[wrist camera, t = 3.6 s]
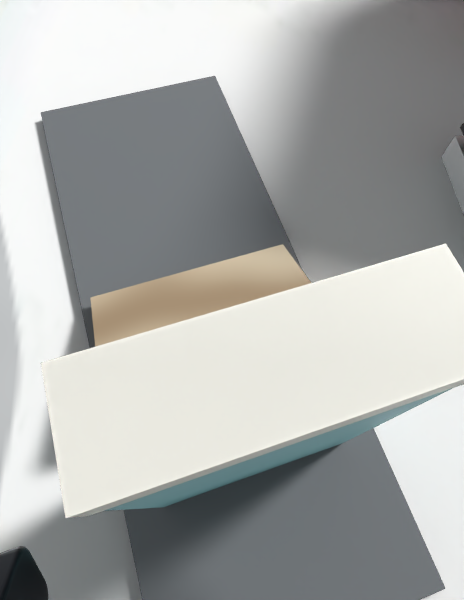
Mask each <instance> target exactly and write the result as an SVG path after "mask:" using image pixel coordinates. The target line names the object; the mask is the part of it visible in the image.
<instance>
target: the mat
mask: <svg viewBox="0 0 464 600" xmlns="http://www.w3.org/2000/svg"><path fill="white" fill-rule="evenodd" d="M41 116H42V121H43V126H44V131H45V135H46V140H47V145H48V150H49V154H50V159H51V164H52V169H53V174H54V178H55V183H56V188H57V193H58V197H59V202H60V207H61V212H62V217H63V221H64V226H65V231H66V236H67V241H68V245H69V250H70V255H71V260H72V264H73V269H74V274H75V279H76V284H77V288H78V293H79V298H80V303H81V307H82V312H83V317H84V322H85V327H86V331H87V336H88V341H89V346H90V348H93V347H95V339H94V329H93V318H92V308H91V298H90V297H94V296H98V295H101V294H105V293H108V292H112V291H116V290H119V289H123V288H126V287H130V286H134V285H137V284H141V283H145V282H148V281H152V280H155V279H159V278H163V277H166V276H170V275H173V274H177V273H181V272H184V271H188V270H191V269H195V268H199V267H202V266H206V265H209V264H213V263H217V262H220V261H224V260H227V259H231V258H235V257H238V256H242V255H246V254H249V253H253V252H256V251H260V250H264V249H267V248H271V247H274V246H278V245H282V244H283V245H284V246H285V248H286V249H287V250H288V252H289V253H290V255H291V256H292V257H293V259H294V260H295V261H296V263H297V264H298V265H299V267H300V268H301V266H300V264H299V262H298V260H297V257H296V255H295V253H294V251H293V248H292V246H291V244H290V242H289V240H288V237H287V235H286V233H285V231H284V228H283V226H282V224H281V222H280V220H279V217H278V215H277V213H276V211H275V208H274V206H273V204H272V202H271V199H270V197H269V195H268V193H267V191H266V188H265V186H264V184H263V182H262V179H261V177H260V175H259V173H258V171H257V168H256V166H255V164H254V162H253V159H252V157H251V155H250V153H249V151H248V148H247V146H246V144H245V142H244V139H243V137H242V135H241V133H240V131H239V128H238V126H237V124H236V122H235V119H234V117H233V115H232V113H231V111H230V108H229V106H228V104H227V102H226V99H225V97H224V95H223V93H222V91H221V88H220V86H219V84H218V82H217V79H216V77H215V76H212V77H207V78H202V79H198V80H193V81H188V82H183V83H179V84H174V85H169V86H164V87H159V88H155V89H150V90H145V91H140V92H136V93H131V94H126V95H121V96H117V97H112V98H107V99H102V100H98V101H93V102H88V103H83V104H79V105H74V106H69V107H64V108H60V109H55V110H50V111H45V112H41ZM301 269H302V268H301ZM124 513H125V518H126V523H127V527H128V532H129V537H130V542H131V547H132V551H133V556H134V561H135V566H136V570H137V575H138V580H139V585H140V590H141V594H142V599H143V600H420V599H422V598H425V597H427V596H429V595H432V594H434V593H436V592H439V591H441V590H443V589H445V586H444V584H443V582H442V580H441V577H440V575H439V573H438V571H437V569H436V566H435V564H434V562H433V560H432V557H431V555H430V553H429V551H428V549H427V546H426V544H425V542H424V540H423V537H422V535H421V533H420V531H419V529H418V526H417V524H416V522H415V520H414V517H413V515H412V513H411V511H410V509H409V506H408V504H407V502H406V500H405V497H404V495H403V493H402V491H401V489H400V486H399V484H398V482H397V480H396V477H395V475H394V473H393V471H392V469H391V466H390V464H389V462H388V460H387V457H386V455H385V453H384V451H383V449H382V446H381V444H380V442H379V440H378V437H377V435H376V433H375V431H374V429H373V428H372V429H370V430H368V431H366V432H364V433H362V434H360V435H358V436H356V437H354V438H352V439H350V440H348V441H346V442H344V443H342V444H339V445H336V446H333V447H331V448H328V449H325V450H322V451H319V452H317V453H314V454H311V455H308V456H305V457H303V458H300V459H297V460H294V461H292V462H289V463H286V464H283V465H280V466H278V467H275V468H272V469H269V470H266V471H264V472H261V473H258V474H255V475H252V476H250V477H247V478H244V479H241V480H238V481H236V482H233V483H230V484H227V485H224V486H222V487H219V488H216V489H213V490H211V491H208V492H205V493H202V494H199V495H197V496H194V497H191V498H188V499H185V500H183V501H180V502H177V503H174V504H171V505H169V506H166V507H161V508H143V509H126V510H124Z"/></svg>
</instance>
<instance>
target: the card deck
mask: <svg viewBox="0 0 464 600" xmlns="http://www.w3.org/2000/svg"><path fill="white" fill-rule="evenodd" d="M41 367H42V373H43V380H44V386H45V392H46V399H47V405H48V411H49V417H50V424H51V430H52V436H53V443H54V449H55V455H56V461H57V468H58V474H59V480H60V487H61V493H62V499H63V505H64V512H65V518H76V517H86V516H90V515H93V514H96V513H99V512H102V511H109V510H126V509H143V508H161V507H166V506H169V505H171V504H174V503H177V502H180V501H183V500H185V499H188V498H191V497H194V496H197V495H199V494H202V493H205V492H208V491H211V490H213V489H216V488H219V487H222V486H224V485H227V484H230V483H233V482H236V481H238V480H241V479H244V478H247V477H250V476H252V475H255V474H258V473H261V472H264V471H266V470H269V469H272V468H275V467H278V466H280V465H283V464H286V463H289V462H292V461H294V460H297V459H300V458H303V457H305V456H308V455H311V454H314V453H317V452H319V451H322V450H325V449H328V448H331V447H333V446H336V445H339V444H342V443H344V442H346V441H348V440H350V439H352V438H354V437H356V436H358V435H360V434H362V433H364V432H366V431H368V430H370V429H372V428H374V427H376V426H378V425H380V424H382V423H384V422H386V421H388V420H390V419H392V418H394V417H396V416H398V415H400V414H402V413H404V412H406V411H408V410H410V409H412V408H414V407H416V406H418V405H420V404H422V403H424V402H426V401H428V400H430V399H432V398H434V397H436V396H438V395H440V394H442V393H444V392H446V391H448V390H450V389H452V388H454V387H457V386H460V385H462V384H464V272H463V270H462V269H461V267H460V265H459V264H458V262H457V261H456V259H455V257H454V256H453V254H452V252H451V251H450V249H449V248H448V246H447V244H442V245H439V246H435V247H432V248H429V249H425V250H422V251H418V252H415V253H412V254H408V255H405V256H402V257H398V258H395V259H391V260H388V261H385V262H381V263H378V264H374V265H371V266H368V267H364V268H361V269H357V270H354V271H351V272H347V273H344V274H340V275H337V276H334V277H330V278H327V279H323V280H320V281H317V282H313V283H310V284H306V285H303V286H300V287H296V288H293V289H289V290H286V291H283V292H279V293H276V294H273V295H269V296H266V297H262V298H259V299H256V300H252V301H249V302H245V303H242V304H239V305H235V306H232V307H228V308H225V309H222V310H218V311H215V312H211V313H208V314H205V315H201V316H198V317H194V318H191V319H188V320H184V321H181V322H177V323H174V324H171V325H167V326H164V327H160V328H157V329H154V330H150V331H147V332H144V333H140V334H137V335H133V336H130V337H127V338H123V339H120V340H116V341H113V342H110V343H106V344H103V345H99V346H96V347H93V348H89V349H86V350H82V351H79V352H76V353H72V354H69V355H65V356H62V357H59V358H55V359H52V360H48V361H45V362H42V363H41Z"/></svg>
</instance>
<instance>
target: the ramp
mask: <svg viewBox="0 0 464 600" xmlns="http://www.w3.org/2000/svg"><path fill="white" fill-rule="evenodd" d="M310 283H311V282H310V280H309V279H308V278H307V276H306V275H305V273H304V272H303V271H302V269H301V268H300V267H299V265H298V264H297V263H296V261H295V260H294V259H293V257H292V256H291V255H290V253H289V252H288V250H287V249H286V248H285V246H284V245H283V244H282V245H278V246H274V247H271V248H267V249H264V250H260V251H256V252H253V253H249V254H246V255H242V256H238V257H235V258H231V259H227V260H224V261H220V262H217V263H213V264H209V265H206V266H202V267H199V268H195V269H191V270H188V271H184V272H181V273H177V274H173V275H170V276H166V277H163V278H159V279H155V280H152V281H148V282H145V283H141V284H137V285H134V286H130V287H126V288H123V289H119V290H116V291H112V292H108V293H105V294H101V295H98V296H94V297H90V298H91V308H92V318H93V329H94V339H95V347H96V346H99V345H103V344H106V343H110V342H113V341H116V340H120V339H123V338H127V337H130V336H133V335H137V334H140V333H144V332H147V331H150V330H154V329H157V328H160V327H164V326H167V325H171V324H174V323H177V322H181V321H184V320H188V319H191V318H194V317H198V316H201V315H205V314H208V313H211V312H215V311H218V310H222V309H225V308H228V307H232V306H235V305H239V304H242V303H245V302H249V301H252V300H256V299H259V298H262V297H266V296H269V295H273V294H276V293H279V292H283V291H286V290H289V289H293V288H296V287H300V286H303V285H306V284H310Z"/></svg>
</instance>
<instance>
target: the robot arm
mask: <svg viewBox="0 0 464 600" xmlns="http://www.w3.org/2000/svg"><path fill="white" fill-rule="evenodd" d="M0 600H48V590H47V585H46V582H45V579H44V577H43V576H42V574H41V572H40V570H39V568H38V566H37V565H36V563H35V561H34V559H33V557H32V555H31V554H30V552H29V550H28V549H27V548H26V547H23V546H20V547H17V548H14V549H11V550H8V551H5V552H2V553H0Z"/></svg>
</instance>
